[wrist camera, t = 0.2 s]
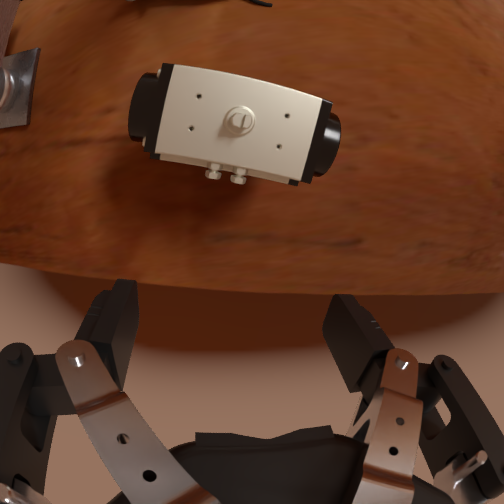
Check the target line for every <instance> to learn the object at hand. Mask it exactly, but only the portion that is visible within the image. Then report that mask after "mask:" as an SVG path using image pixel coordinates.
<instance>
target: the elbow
mask: <svg viewBox="0 0 504 504" xmlns="http://www.w3.org/2000/svg"><path fill="white" fill-rule="evenodd" d="M20 1H23V0H0V101H1V98H2V96H3V92H4V88H5V73H4V71H3V69H2V65H3V60H4V55H5V51H6V47H7V43H8V39H9V35H10V32H11V28H12V25H13V21H14V18H15V15H16V12H17V9H18V6H19V4H20Z"/></svg>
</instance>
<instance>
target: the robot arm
mask: <svg viewBox="0 0 504 504" xmlns="http://www.w3.org/2000/svg"><path fill="white" fill-rule="evenodd" d="M138 324H139V306H138V291H137V282H136V280H127V279H117V280H116V282H115V284H114V287H113V288H112V290H111V291H110V290H109V291H108V290H103V291H102V292H101V293H100V294H98V295H97V296H96V297H95V299H94V300H93V302H92V304H91V307H90V308H89V310H88V312H87V314H86V316H85V318H84V320H83V322H82V324H81V326H80V328H79V330H78V332H77V334H76V337H75V339H74V340H71V341H68V342H66V343H64V344H63V345H61V346H60V347H59V348H58V350H57V352H56V353H55V354H45V355H34V354H33V352H32V350H31V348H30V347H29V346H28V345H26V344H24V343H12V344H10V345H7V346H6V347H5V348H3V349H2V351H1V352H0V504H51V503H50V501H49V500H48V499H47V498H45V497H44V496H43V494H44V486H45V478H46V471H47V465H48V459H49V453H50V448H51V443H52V438H53V433H54V429H55V425H56V420H57V416H58V415H71V414H77V415H78V417H79V419H80V421H81V423H82V425H83V427H84V429H85V431H86V433H87V434H88V436H89V438H90V440H91V442H92V444H93V445H94V447H95V449H96V451H97V452H98V454H99V456H100V458H101V459H102V461H103V463H104V464H105V466H106V467H107V469H108V471H109V472H110V473H111V475H112V477H113V478H114V480H115V481H116V483H117V484H118V486H119V487H120V489H121V490H122V491H121V492H120V493H119V494H117V496H115V497H114V498H113V499H112V500H111V501H110V502H108V503H107V504H487V503H488V502H490V501H491V500H493V499H494V498H496V497H498V496H499V495H501V494H502V493H503V492H504V435H503V434H502V432H501V430H500V429H499V427H498V425H497V424H496V422H495V420H494V418H493V417H492V415H491V414H490V412H489V411H488V409H487V407H486V406H485V404H484V402H483V401H482V399H481V398H480V396H479V395H478V393H477V392H476V390H475V389H474V387H473V386H472V384H471V383H470V381H469V380H468V378H467V377H466V376H465V374H464V373H463V371H462V370H461V368H460V367H459V366H458V364H457V363H456V362H455V361H454V360H453V359H452V358H450V357H448V356H445V355H438V356H436V357H435V358H434V360H433V361H432V363H431V364H425V363H418V361H417V359H416V358H415V357H414V356H413V355H412V354H411V353H410V352H408V351H406V350H403V349H399V348H395V347H394V346H393V344H392V343H391V341H390V340H389V338H388V337H387V336H386V334H385V333H384V331H383V330H382V329H380V326H379V324H378V323H377V322H376V320H375V319H374V317H373V316H372V314H371V313H370V312H369V311H367V310H366V309H365V308H364V307H362V306H360V305H359V303H358V302H357V300H356V299H355V298H354V296H353V295H351V294H335V295H334V296H333V298H332V300H331V303H330V305H329V308H328V311H327V314H326V317H325V319H324V322H323V327H322V331H323V336H324V338H325V340H326V343H327V345H328V347H329V349H330V351H331V353H332V355H333V358H334V360H335V362H336V364H337V366H338V368H339V370H340V372H341V375H342V376H343V379H344V381H345V383H346V385H347V388H348V390H349V392H350V393H353V392H359V391H361V392H362V396H361V397H360V399H359V401H358V404H357V407H356V410H355V413H354V416H353V419H352V421H351V424H350V426H349V429H348V432H347V433H346V435H345V436H344V435H339V434H333V431H332V429H331V426H330V425H327V426H321V427H314V428H305V429H299V430H296V431H293V432H291V433H288V434H285V435H282V436H279V437H275V438H272V439H260V438H255V437H249V436H243V435H238V434H233V433H199V432H196V433H195V434H196V435H195V441H193V442H188V443H184V444H181V445H178V446H176V447H173V448H171V449H169V450H167V449H166V447H165V446H164V445H163V444H162V442H161V441H160V440H159V439H158V437H157V436H156V435H155V433H154V432H153V431H152V429H151V428H150V427H149V425H148V424H147V423H146V421H145V420H144V419H143V417H142V416H141V415H140V413H139V412H138V410H137V409H136V407H135V406H134V404H133V403H132V402H131V400H130V399H129V397H128V396H127V394H126V393H125V392H120V391H123V386H124V382H125V377H126V373H127V369H128V365H129V360H130V356H131V352H132V348H133V344H134V340H135V337H136V333H137V329H138ZM441 398H443V400H444V402H445V404H446V405H447V407H448V409H449V411H450V413H451V420H450V422H449V424H448V425H447V426H445V424H444V422H443V420H442V418H441V416H440V415H439V413H438V411H437V409H436V407H435V405H436V404H437V403H438V402H439V400H440V399H441ZM418 444H419V446H420V448H421V450H422V453H423V455H424V457H425V460H426V462H427V464H428V467H429V469H430V471H431V474H432V476H433V479H434V485H431V484H429V483H427V482H426V481H424V480H422V479H420V478H418V477H416V476H415V475H413V470H414V465H415V460H416V454H417V449H418Z"/></svg>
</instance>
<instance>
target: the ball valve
mask: <svg viewBox="0 0 504 504" xmlns="http://www.w3.org/2000/svg"><path fill="white" fill-rule="evenodd" d="M332 104H333V102H331V101H328V100H325V99H322V98H319V97H317V96H314V95H311V94H307V93H304V92H301V91H298V90H295V89H291V88H288V87H285V86H281V85H277V84H274V83H270V82H266V81H262V80H258V79H254V78H250V77H246V76H241V75H237V74H232V73H227V72H222V71H216V70H211V69H205V68H199V67H192V66H185V65H177V64H168V63H163V64H162V68H161V69H159V70H158V73H148V72H147V73H145V74H143V75H142V77H141V78H140V80H139V81H138V83H137V85H136V88H135V90H134V93H133V97H132V100H131V105H130V110H129V118H128V131H129V136H130V138H131V140H132V141H136V142H143V143H142V145H143V146H144V152H151V153H150V158H151V159H158V160H165V161H171V162H178V163H184V164H190V165H196V166H202V167H207V168H209V169H211V170H206V172H205V176H206V177H207V178H211V179H220V178H221V174H222V173H220V172H218V171H217V170H219V171H220V170H224V171H229V172H233V173H235V174H236V175H231V177H230V180H231V182H234V183H237V184H245V182H246V179H247V178H245V177H243V176H242V175H249V176H254V177H258V178H263V179H268V180H272V181H277V182H281V183H285V184H290V185H294V186H298V182H299V181H301V182H305V183H309V184H310V183H311V181H312V177H313V176H315V177H320V176H322V175H324V174H325V173H326V172H327V171H328V169H329V168H330V167H331V165H332V163H333V161H334V159H335V157H336V154H337V151H338V148H339V144H340V138H341V124H340V120H339V118H338V116H337V115H336V114H334V113H331V112H330V111H331V108H332Z"/></svg>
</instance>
